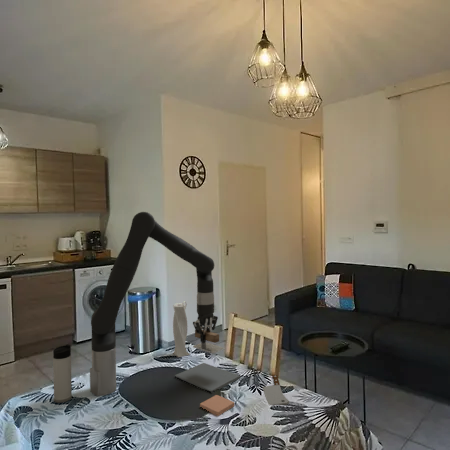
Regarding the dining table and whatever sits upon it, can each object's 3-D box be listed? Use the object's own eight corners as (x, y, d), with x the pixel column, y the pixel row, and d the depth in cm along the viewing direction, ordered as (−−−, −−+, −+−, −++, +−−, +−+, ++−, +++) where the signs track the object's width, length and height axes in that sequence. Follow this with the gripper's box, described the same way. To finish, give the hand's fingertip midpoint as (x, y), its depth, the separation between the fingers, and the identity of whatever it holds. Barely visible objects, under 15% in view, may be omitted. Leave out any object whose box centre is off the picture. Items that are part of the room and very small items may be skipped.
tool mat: (211, 393, 144) (211, 390, 144) (174, 377, 158) (174, 375, 158) (240, 378, 157) (240, 375, 157) (203, 364, 172) (203, 362, 172)
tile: (199, 408, 133) (218, 417, 127) (199, 403, 133) (217, 412, 127) (216, 399, 140) (234, 407, 134) (216, 394, 140) (234, 402, 134)
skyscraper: (192, 355, 184) (191, 300, 183) (177, 359, 179) (177, 303, 179) (184, 350, 191) (183, 297, 190) (170, 354, 186) (169, 299, 186)
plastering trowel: (191, 346, 159) (191, 331, 159) (202, 342, 164) (202, 327, 164) (213, 353, 150) (213, 337, 150) (224, 349, 155) (224, 333, 155)
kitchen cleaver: (259, 375, 159) (282, 374, 158) (259, 377, 159) (282, 376, 158) (262, 404, 134) (289, 403, 134) (262, 407, 134) (290, 406, 134)
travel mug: (76, 396, 142) (75, 345, 142) (62, 404, 136) (61, 351, 136) (64, 393, 145) (63, 343, 144) (50, 401, 139) (49, 349, 138)
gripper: (210, 298, 165) (210, 335, 165) (187, 303, 155) (188, 344, 155) (222, 300, 160) (223, 339, 161) (200, 306, 150) (200, 348, 150)
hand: (205, 341), depth 158 cm, fingers closed on plastering trowel, 2 cm apart
